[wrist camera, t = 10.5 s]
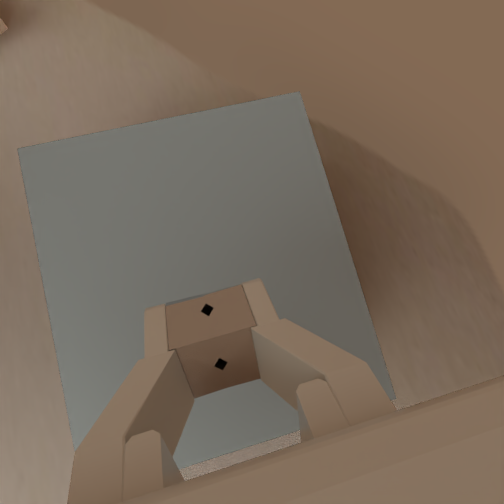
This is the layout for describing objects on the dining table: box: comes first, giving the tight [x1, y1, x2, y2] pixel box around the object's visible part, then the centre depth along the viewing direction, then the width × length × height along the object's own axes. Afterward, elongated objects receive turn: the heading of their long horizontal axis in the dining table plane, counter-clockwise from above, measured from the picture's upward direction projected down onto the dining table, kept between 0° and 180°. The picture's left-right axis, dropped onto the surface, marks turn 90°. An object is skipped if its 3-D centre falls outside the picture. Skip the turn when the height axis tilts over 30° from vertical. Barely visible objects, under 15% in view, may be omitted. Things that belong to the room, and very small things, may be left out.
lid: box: [18, 92, 396, 469], centre depth 18 cm, size 17×15×1 cm
